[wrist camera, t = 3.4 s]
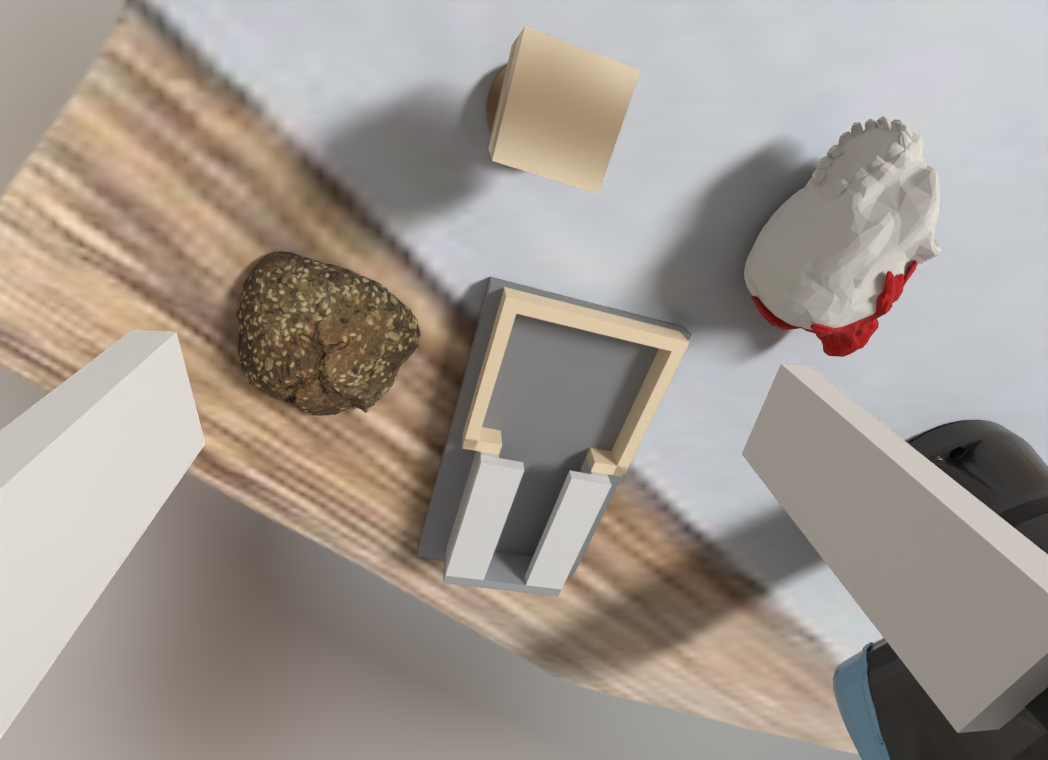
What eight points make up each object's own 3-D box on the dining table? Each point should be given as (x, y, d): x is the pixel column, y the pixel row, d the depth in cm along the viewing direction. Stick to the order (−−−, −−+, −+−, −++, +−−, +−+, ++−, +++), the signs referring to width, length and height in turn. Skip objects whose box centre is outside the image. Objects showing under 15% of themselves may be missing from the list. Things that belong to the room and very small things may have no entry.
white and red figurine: (847, 102, 32) (880, 275, 40) (693, 207, 34) (754, 350, 43) (973, 122, 25) (982, 328, 33) (766, 253, 27) (823, 415, 35)
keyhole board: (490, 276, 36) (492, 300, 32) (683, 326, 39) (709, 353, 35) (418, 544, 48) (413, 587, 44) (570, 564, 52) (578, 605, 48)
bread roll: (271, 223, 33) (241, 241, 29) (438, 308, 37) (433, 335, 33) (217, 370, 38) (185, 405, 34) (370, 431, 42) (358, 469, 38)
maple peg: (500, 40, 29) (516, 6, 19) (594, 74, 30) (656, 60, 20) (476, 148, 32) (478, 169, 22) (563, 175, 33) (604, 207, 23)
